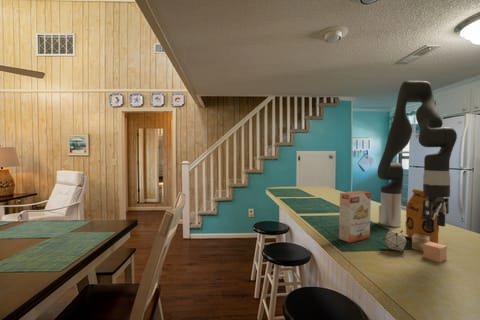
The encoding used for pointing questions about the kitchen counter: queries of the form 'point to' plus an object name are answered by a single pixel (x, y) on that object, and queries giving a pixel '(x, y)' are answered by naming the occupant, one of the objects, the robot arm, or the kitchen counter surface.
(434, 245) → the terracotta block
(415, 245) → the birch block
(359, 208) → the cracker box
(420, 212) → the coffee package
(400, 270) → the kitchen counter surface
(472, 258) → the kitchen counter surface
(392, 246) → the game die
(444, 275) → the kitchen counter surface
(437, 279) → the kitchen counter surface
